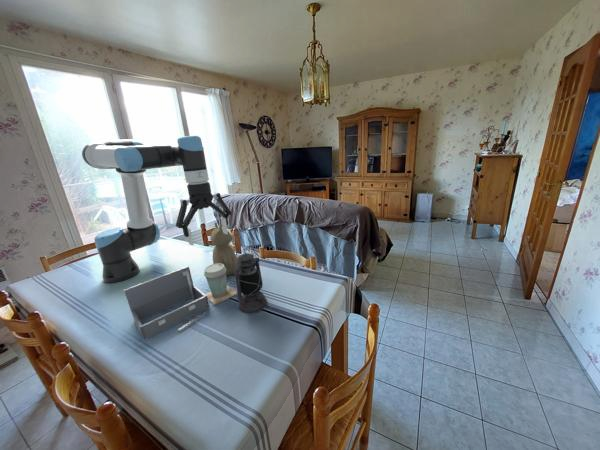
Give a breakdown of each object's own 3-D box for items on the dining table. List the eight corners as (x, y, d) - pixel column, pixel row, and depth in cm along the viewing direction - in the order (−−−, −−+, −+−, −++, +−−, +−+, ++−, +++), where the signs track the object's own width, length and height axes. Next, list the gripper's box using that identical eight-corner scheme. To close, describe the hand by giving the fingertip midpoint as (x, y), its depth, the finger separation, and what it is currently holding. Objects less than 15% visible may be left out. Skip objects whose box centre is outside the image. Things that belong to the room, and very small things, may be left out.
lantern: (252, 318, 85) (239, 238, 76) (230, 309, 91) (216, 234, 82) (274, 299, 95) (265, 226, 86) (253, 292, 101) (243, 222, 91)
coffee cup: (224, 300, 96) (219, 273, 92) (204, 299, 98) (198, 272, 94) (234, 288, 104) (229, 262, 100) (215, 287, 106) (210, 262, 102)
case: (134, 320, 89) (123, 289, 85) (194, 293, 103) (188, 265, 99) (144, 341, 79) (133, 307, 75) (210, 307, 93) (203, 277, 89)
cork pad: (203, 295, 101) (203, 294, 101) (225, 285, 108) (225, 284, 108) (214, 305, 94) (214, 304, 94) (237, 293, 101) (237, 292, 101)
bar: (180, 333, 82) (179, 330, 81) (178, 332, 82) (177, 329, 82) (205, 315, 90) (204, 312, 89) (203, 314, 90) (202, 311, 90)
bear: (258, 273, 116) (251, 223, 108) (224, 285, 107) (214, 231, 100) (241, 258, 132) (235, 214, 125) (210, 268, 124) (201, 220, 116)
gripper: (163, 189, 76) (178, 252, 83) (234, 177, 92) (243, 231, 99) (156, 187, 81) (171, 246, 88) (225, 177, 97) (233, 227, 104)
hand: (209, 238), depth 93 cm, fingers open, 13 cm apart
